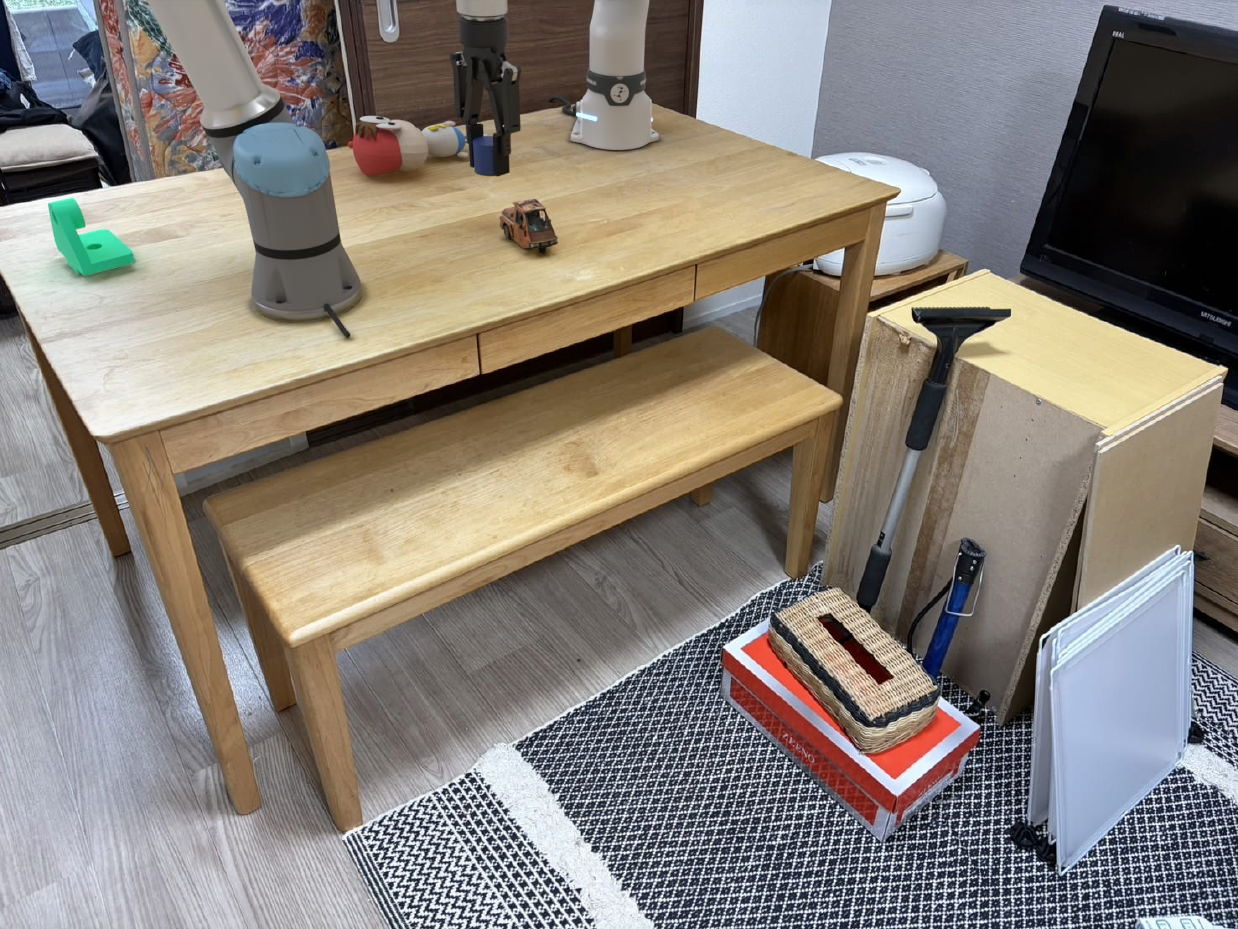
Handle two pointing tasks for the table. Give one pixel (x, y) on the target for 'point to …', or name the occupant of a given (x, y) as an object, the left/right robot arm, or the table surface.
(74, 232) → the camera mount
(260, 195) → the left robot arm
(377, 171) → the toy
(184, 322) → the table surface
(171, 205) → the table surface
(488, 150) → the canister
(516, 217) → the toy car
